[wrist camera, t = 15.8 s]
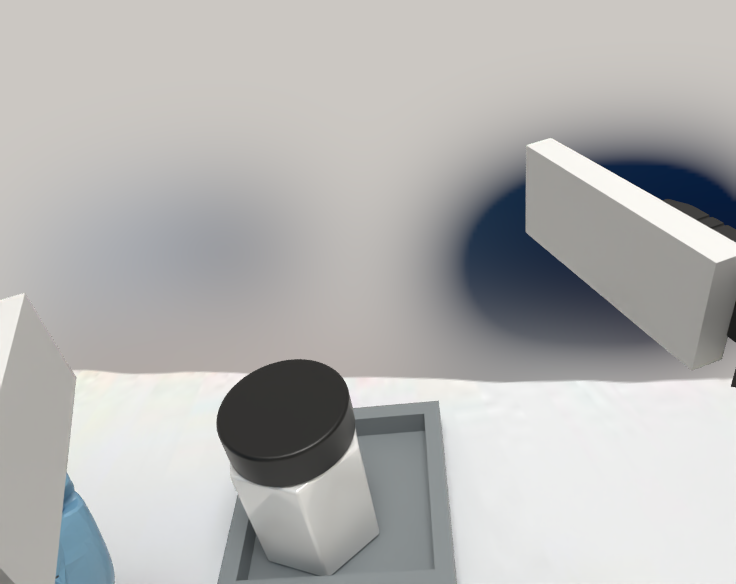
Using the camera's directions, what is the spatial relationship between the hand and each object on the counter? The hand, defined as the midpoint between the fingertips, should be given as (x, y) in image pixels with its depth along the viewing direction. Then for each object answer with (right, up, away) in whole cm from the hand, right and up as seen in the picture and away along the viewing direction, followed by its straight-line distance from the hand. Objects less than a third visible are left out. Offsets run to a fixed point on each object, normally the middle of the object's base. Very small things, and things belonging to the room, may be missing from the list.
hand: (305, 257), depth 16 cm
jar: (-2, -17, +27) cm, 32 cm away
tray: (0, -17, +28) cm, 33 cm away
